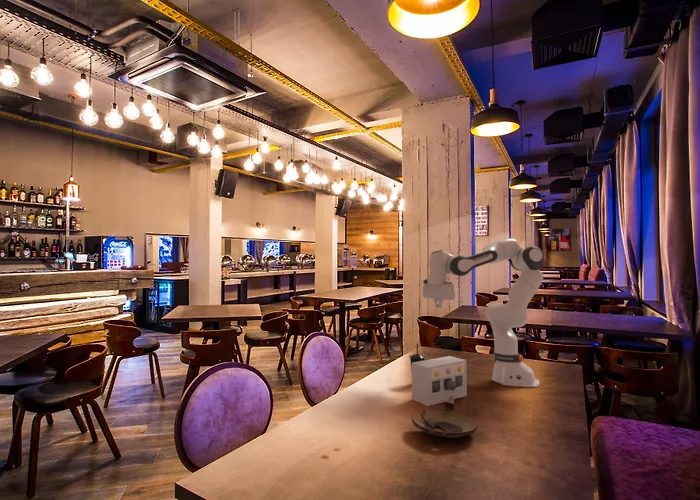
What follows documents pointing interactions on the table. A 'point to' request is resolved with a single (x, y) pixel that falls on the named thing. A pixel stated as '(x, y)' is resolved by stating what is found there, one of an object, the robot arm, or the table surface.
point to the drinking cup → (416, 357)
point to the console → (438, 379)
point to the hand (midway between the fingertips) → (438, 307)
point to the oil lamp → (446, 422)
